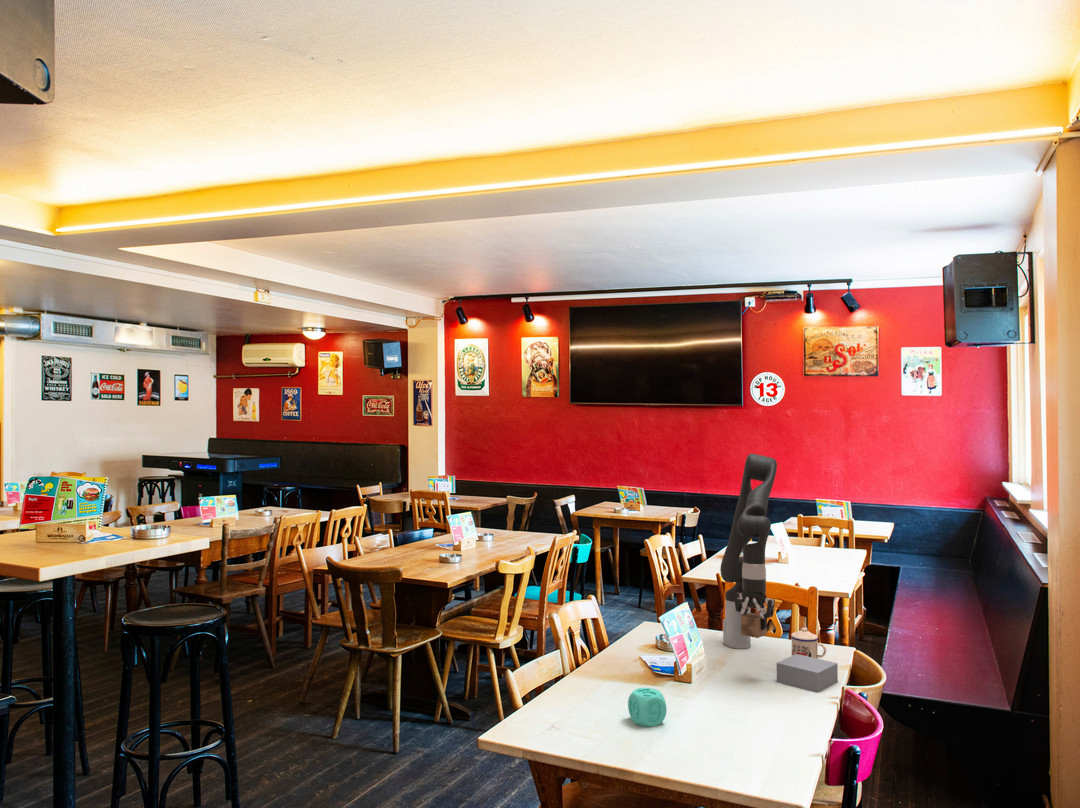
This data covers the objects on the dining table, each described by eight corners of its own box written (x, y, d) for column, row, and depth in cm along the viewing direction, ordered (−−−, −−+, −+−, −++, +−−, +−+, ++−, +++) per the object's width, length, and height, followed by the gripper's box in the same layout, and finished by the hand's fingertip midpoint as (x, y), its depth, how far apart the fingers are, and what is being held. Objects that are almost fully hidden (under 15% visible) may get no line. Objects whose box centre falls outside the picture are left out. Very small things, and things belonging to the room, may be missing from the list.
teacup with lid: (787, 662, 260) (787, 628, 261) (796, 656, 267) (795, 623, 268) (822, 668, 253) (821, 634, 253) (830, 662, 260) (829, 629, 260)
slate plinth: (776, 681, 240) (776, 662, 240) (796, 671, 250) (796, 653, 250) (818, 692, 230) (818, 672, 230) (837, 681, 240) (837, 663, 240)
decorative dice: (652, 714, 211) (652, 686, 212) (666, 724, 204) (666, 695, 204) (627, 718, 209) (627, 689, 209) (641, 728, 201) (641, 699, 201)
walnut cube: (741, 634, 243) (741, 615, 243) (750, 630, 247) (750, 612, 247) (757, 638, 238) (757, 619, 239) (766, 634, 243) (766, 616, 243)
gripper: (728, 574, 246) (728, 625, 245) (768, 581, 235) (768, 634, 235) (740, 571, 251) (740, 621, 250) (779, 578, 241) (780, 630, 240)
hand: (754, 627), depth 243 cm, fingers closed on walnut cube, 6 cm apart
